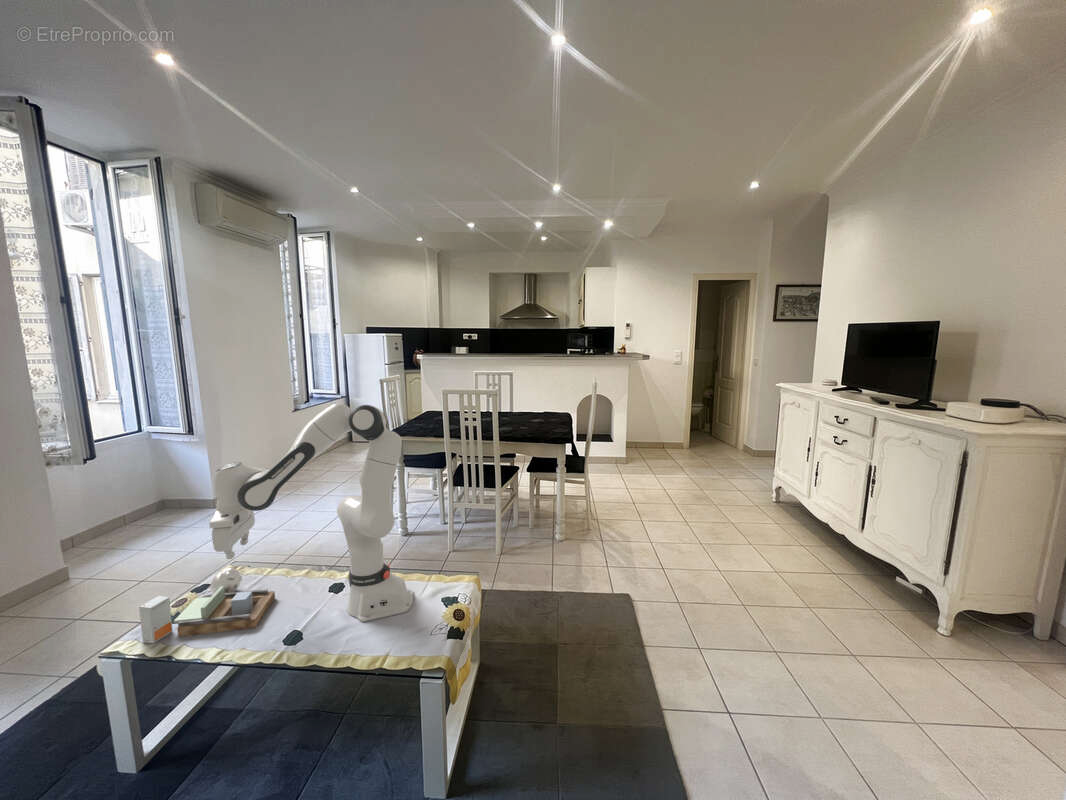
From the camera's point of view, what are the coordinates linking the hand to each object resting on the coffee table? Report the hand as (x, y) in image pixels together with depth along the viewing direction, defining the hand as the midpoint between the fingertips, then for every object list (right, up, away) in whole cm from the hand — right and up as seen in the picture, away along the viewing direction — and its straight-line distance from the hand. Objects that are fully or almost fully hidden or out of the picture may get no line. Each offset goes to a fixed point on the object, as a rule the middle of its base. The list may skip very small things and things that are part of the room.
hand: (237, 550), depth 139 cm
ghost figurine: (-14, -22, +15) cm, 30 cm away
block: (0, -23, +3) cm, 23 cm away
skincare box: (-20, -25, -8) cm, 32 cm away
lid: (-13, -20, 0) cm, 24 cm away
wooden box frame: (-4, -23, +2) cm, 24 cm away
